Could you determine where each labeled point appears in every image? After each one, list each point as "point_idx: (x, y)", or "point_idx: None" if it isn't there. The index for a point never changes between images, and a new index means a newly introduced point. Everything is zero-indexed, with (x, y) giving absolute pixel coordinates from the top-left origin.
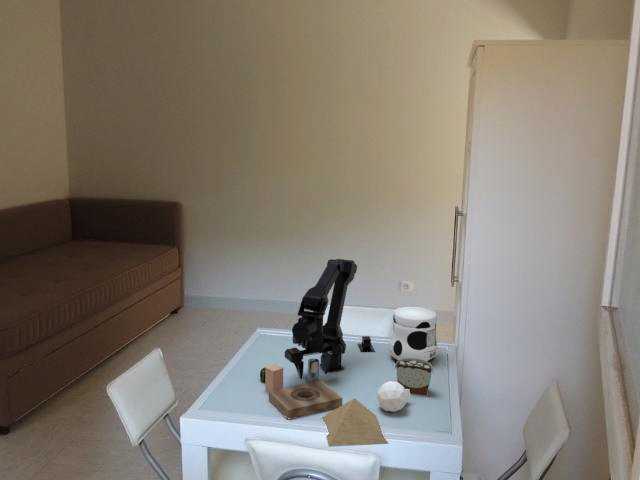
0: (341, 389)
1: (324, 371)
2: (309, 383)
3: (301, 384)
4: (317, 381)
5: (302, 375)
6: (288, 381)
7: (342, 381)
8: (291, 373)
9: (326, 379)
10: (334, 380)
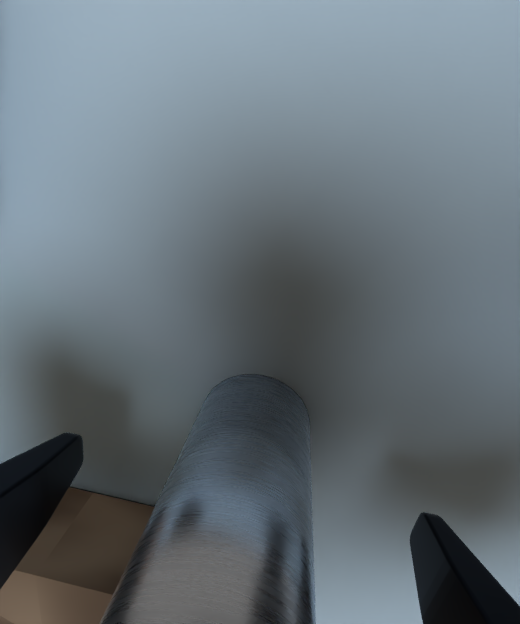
0: (373, 609)
1: (430, 539)
2: (83, 598)
3: None
4: None
5: (39, 528)
6: (58, 236)
7: (515, 543)
8: (199, 18)
9: (434, 433)
10: (476, 491)
